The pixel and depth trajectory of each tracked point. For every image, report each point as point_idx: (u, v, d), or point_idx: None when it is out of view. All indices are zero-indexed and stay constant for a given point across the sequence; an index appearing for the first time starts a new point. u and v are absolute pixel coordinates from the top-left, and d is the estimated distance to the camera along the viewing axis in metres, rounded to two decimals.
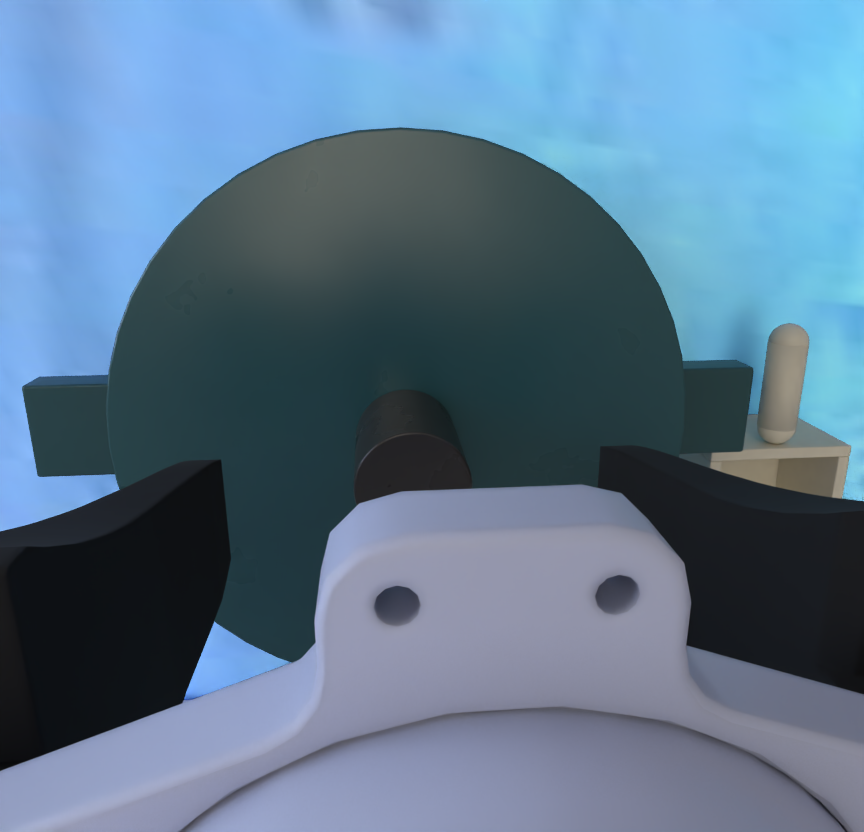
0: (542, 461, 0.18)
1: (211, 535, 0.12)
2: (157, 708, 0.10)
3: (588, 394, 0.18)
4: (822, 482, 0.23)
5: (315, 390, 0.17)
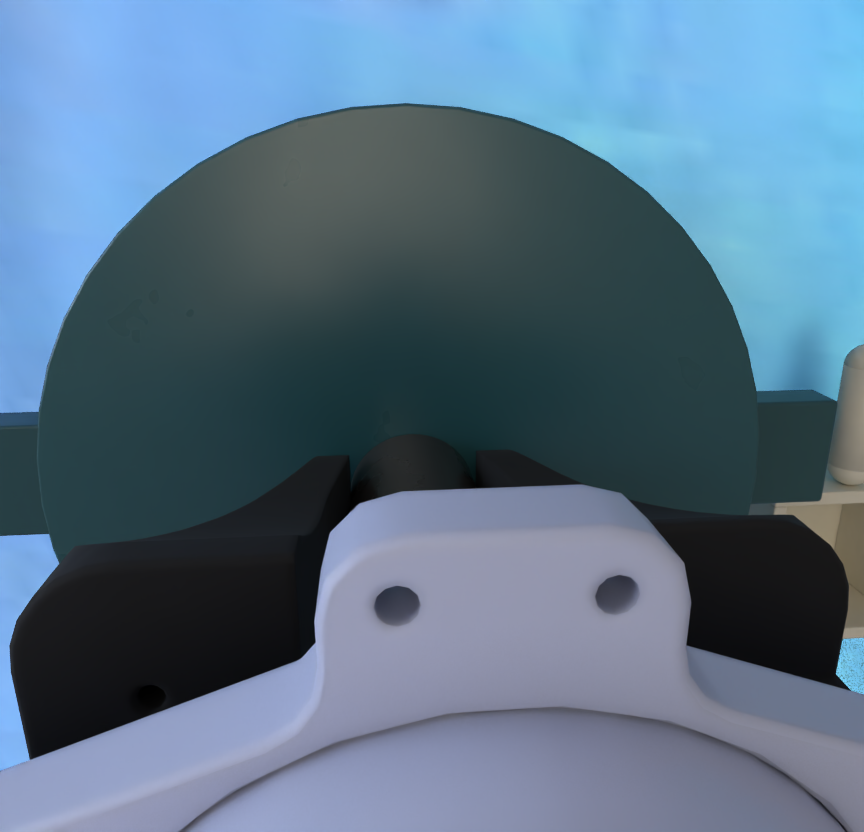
0: None
1: None
2: None
3: (639, 438, 0.14)
4: None
5: (299, 435, 0.14)
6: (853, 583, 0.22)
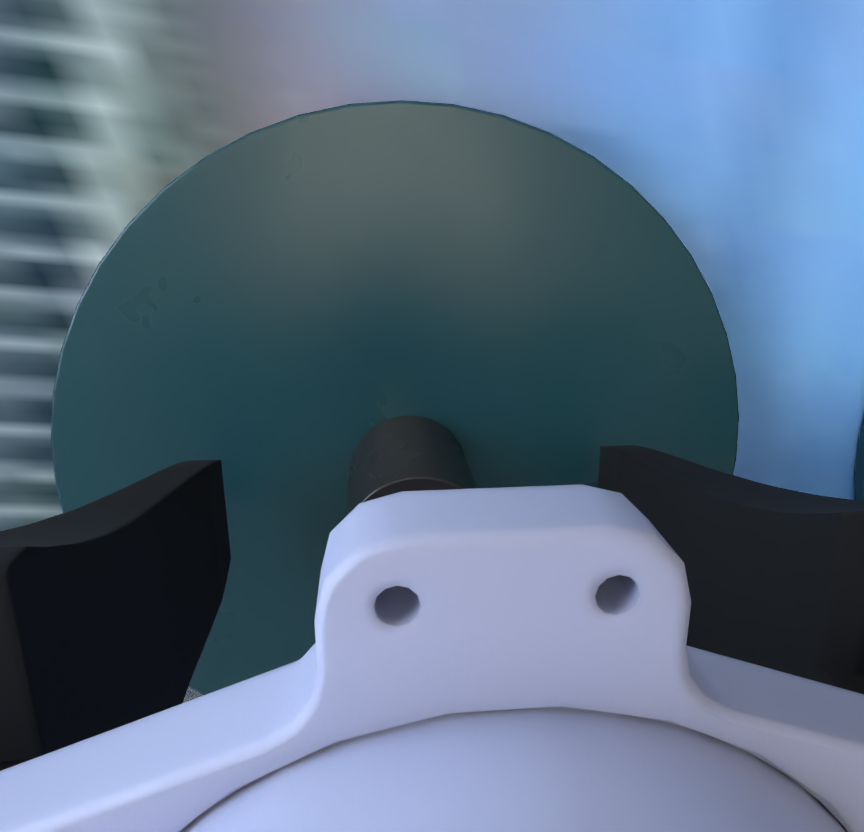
0: None
1: (211, 535, 0.12)
2: (157, 708, 0.10)
3: (624, 420, 0.15)
4: None
5: (301, 416, 0.14)
6: None
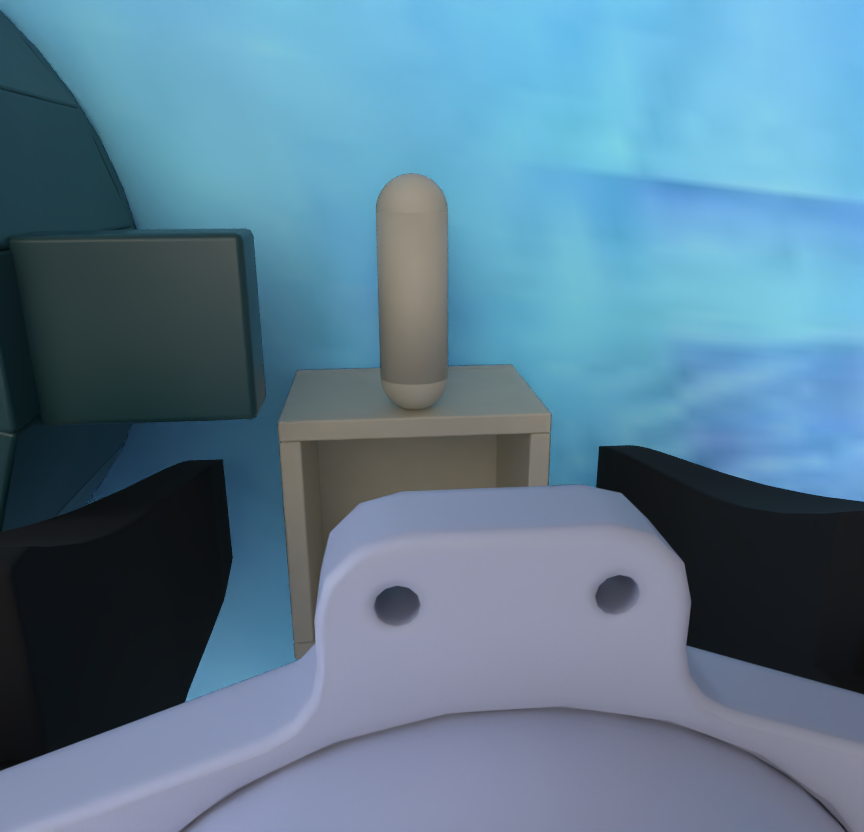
0: None
1: (213, 535, 0.12)
2: (159, 708, 0.10)
3: None
4: (521, 481, 0.13)
5: None
6: None
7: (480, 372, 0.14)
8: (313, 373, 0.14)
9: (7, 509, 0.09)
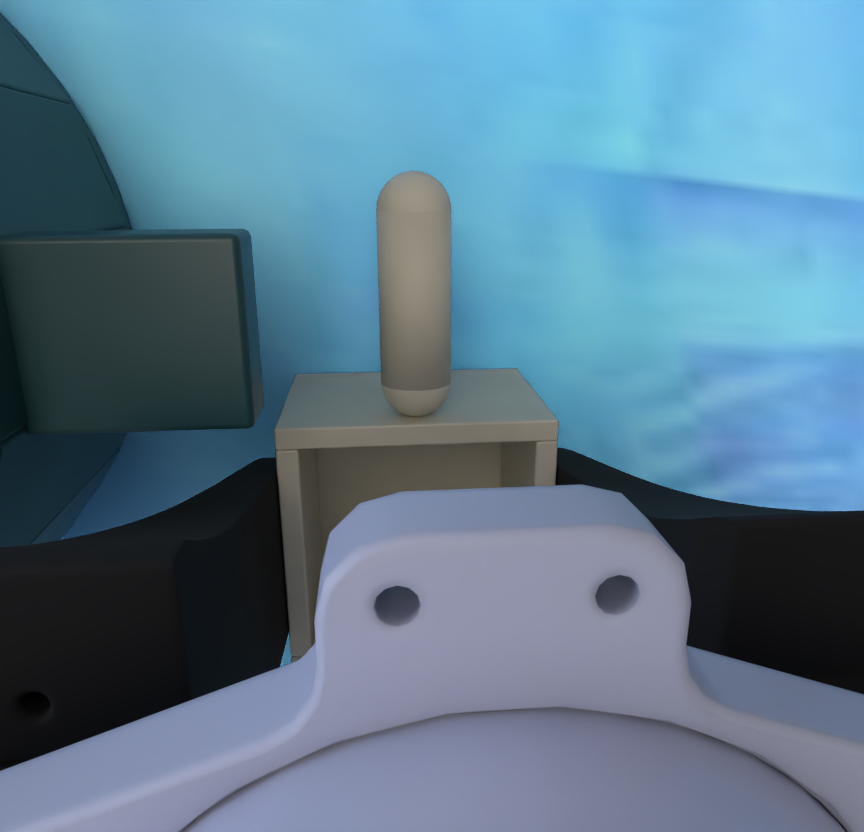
0: None
1: None
2: None
3: None
4: None
5: None
6: None
7: (484, 376, 0.14)
8: (312, 377, 0.14)
9: None
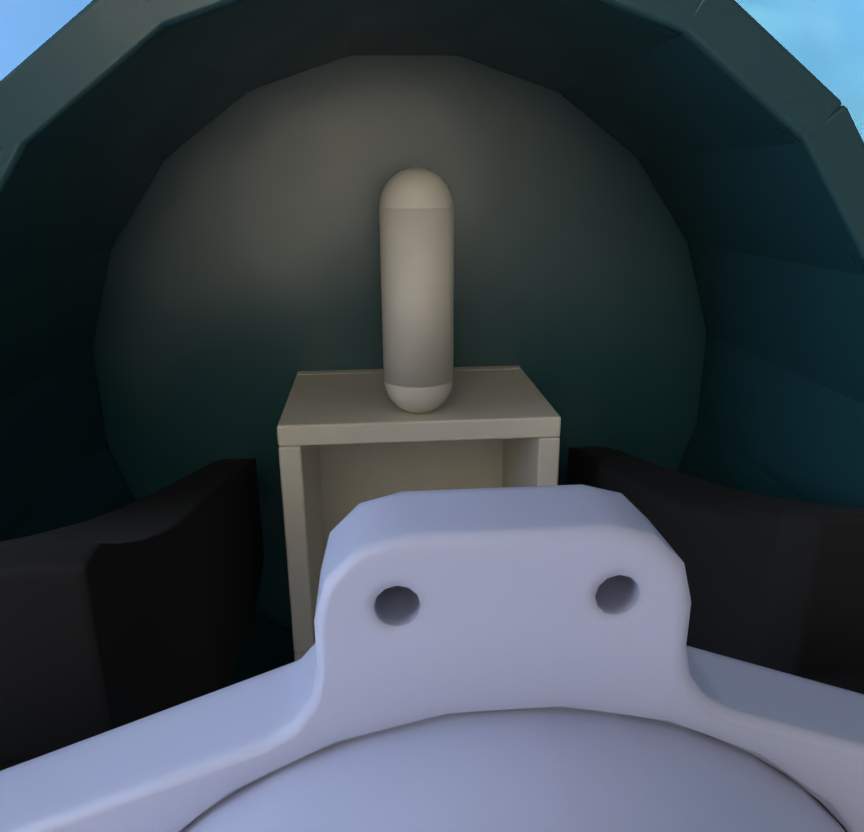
0: None
1: (248, 533, 0.12)
2: None
3: None
4: None
5: None
6: None
7: (486, 373, 0.14)
8: (314, 374, 0.14)
9: None
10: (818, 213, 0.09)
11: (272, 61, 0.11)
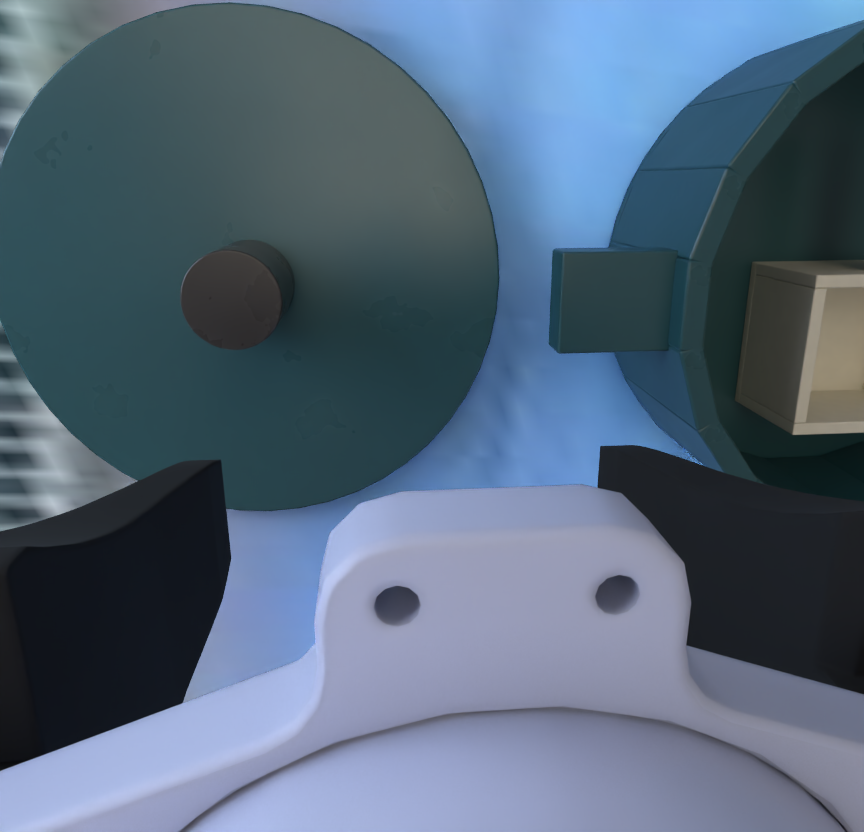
0: (374, 308, 0.21)
1: (211, 535, 0.12)
2: (157, 708, 0.10)
3: (411, 247, 0.20)
4: None
5: (169, 239, 0.20)
6: None
7: None
8: (768, 262, 0.22)
9: None
10: None
11: None
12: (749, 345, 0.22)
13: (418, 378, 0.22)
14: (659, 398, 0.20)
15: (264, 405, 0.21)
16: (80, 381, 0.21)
